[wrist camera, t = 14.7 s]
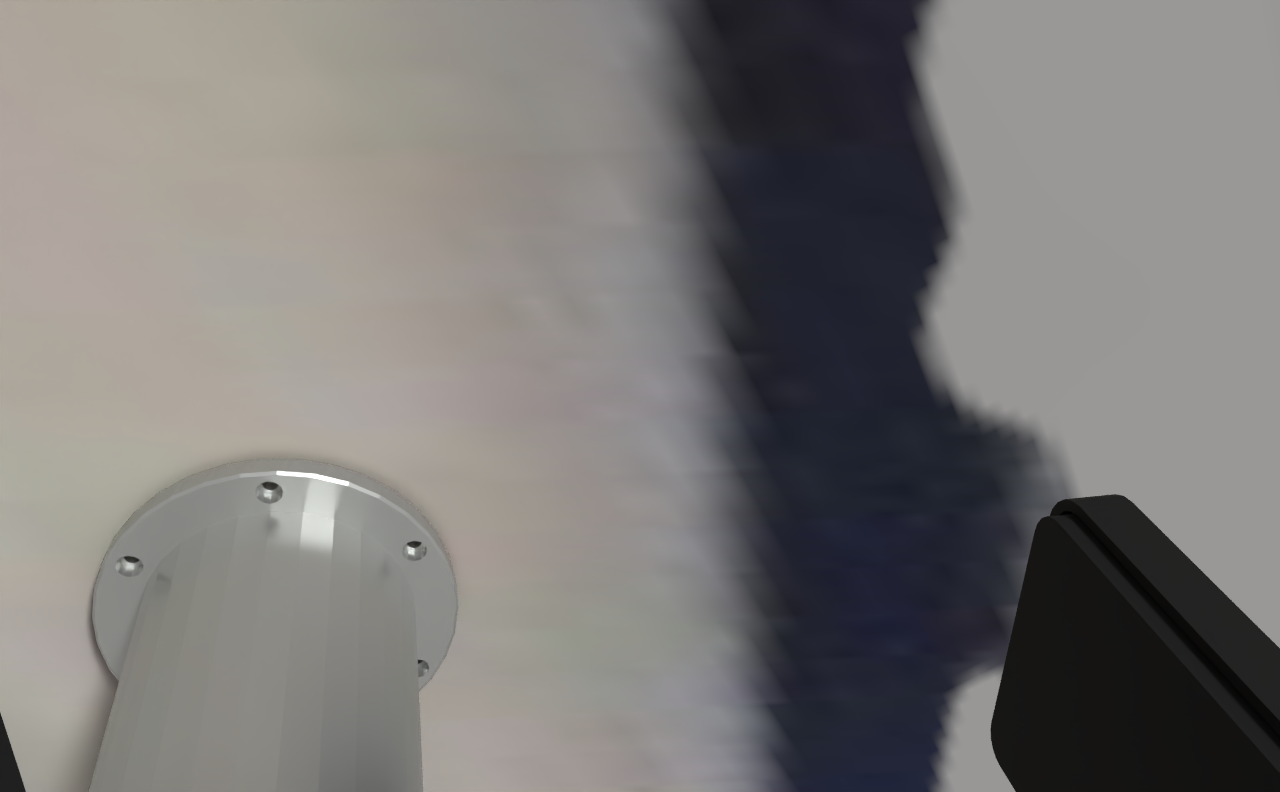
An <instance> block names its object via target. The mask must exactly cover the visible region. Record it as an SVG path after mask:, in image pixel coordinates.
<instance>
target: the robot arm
mask: <svg viewBox="0 0 1280 792" xmlns="http://www.w3.org/2000/svg"><path fill="white" fill-rule="evenodd" d="M268 482H274V483H268ZM457 611H458V601H457V588H456V579H455V575H454V571H453V567H452V563H451V559H450V556H449V554H448V552H447V550H446V548H445V546H444V544H443V542H442V540H441V538H440V536H439V534H438V532H437V531H436V530H435V529H434V528H433V526H432V525H431V524H430V523H429V522H428V520H427V519H426V518H425V517H424V516H423V514H422V513H421V512H420V511H419V510H418V509H417V508H416V507H414V506H413V505H412V504H411V503H409V502H408V501H407V500H406V499H404V498H403V497H402V496H401V495H399V494H398V493H397V492H395V491H394V490H392V489H390V488H388V487H387V486H385V485H383V484H381V483H379V482H377V481H375V480H373V479H371V478H369V477H368V476H366V475H363V474H360V473H357V472H354V471H351V470H348V469H345V468H341V467H338V466H335V465H332V464H326V463H319V462H313V461H307V460H300V459H257V460H250V461H244V462H237V463H231V464H225V465H221V466H218V467H215V468H212V469H209V470H206V471H203V472H200V473H197V474H194V475H191V476H189V477H187V478H185V479H183V480H181V481H179V482H177V483H175V484H174V485H172V486H170V487H168V488H166V489H164V490H162V491H160V492H159V493H158V494H156V495H155V496H154V497H153V498H151V499H150V500H149V501H148V502H146V503H145V504H144V505H143V506H142V507H140V508H139V509H138V510H137V511H135V512H134V513H133V514H132V516H131V517H130V518H129V519H128V521H127V522H126V523H125V524H124V526H123V527H122V528H121V529H120V530H119V532H118V533H117V534H116V535H115V537H114V539H113V541H112V543H111V545H110V547H109V549H108V551H107V553H106V555H105V557H104V560H103V562H102V565H101V568H100V572H99V575H98V578H97V582H96V585H95V588H94V595H93V609H92V620H93V625H94V631H95V636H96V641H97V645H98V647H99V649H100V651H101V653H102V655H103V658H104V660H105V662H106V664H107V666H108V668H109V670H110V671H111V672H112V674H113V675H114V676H115V677H116V679H117V680H118V681H119V684H118V687H117V691H116V694H115V698H114V702H113V705H112V709H111V713H110V716H109V720H108V723H107V727H106V731H105V734H104V738H103V741H102V745H101V749H100V752H99V756H98V759H97V763H96V767H95V770H94V774H93V778H92V781H91V785H90V788H89V792H423V776H422V753H421V729H420V705H419V691H420V690H421V689H422V688H423V687H424V686H425V685H426V684H427V683H428V682H429V681H430V680H431V679H432V677H433V676H434V674H435V673H436V671H437V670H438V668H439V667H440V665H441V663H442V662H443V660H444V659H445V657H446V655H447V652H448V650H449V647H450V644H451V642H452V639H453V636H454V633H455V628H456V619H457ZM991 741H992V746H993V750H994V753H995V756H996V759H997V761H998V763H999V765H1000V767H1001V768H1002V770H1003V771H1004V773H1005V775H1006V776H1007V778H1008V779H1009V781H1010V783H1011V785H1012V786H1013V788H1014V789H1015V791H1016V792H1280V648H1279V647H1278V646H1277V645H1276V644H1275V643H1274V642H1273V641H1272V640H1271V639H1270V638H1269V637H1267V635H1265V633H1263V632H1262V631H1261V630H1260V628H1258V627H1257V626H1256V625H1255V624H1254V623H1253V622H1252V621H1251V620H1250V619H1249V618H1248V617H1247V616H1246V615H1245V614H1244V613H1243V612H1242V611H1241V610H1240V609H1239V608H1238V607H1237V606H1236V605H1235V604H1234V603H1233V602H1232V601H1231V600H1230V599H1229V598H1228V597H1227V596H1226V595H1225V594H1224V593H1223V592H1222V591H1221V590H1220V589H1219V588H1218V587H1217V586H1216V585H1215V584H1214V583H1213V582H1212V581H1211V580H1210V579H1209V578H1208V577H1207V576H1206V575H1205V574H1204V573H1203V572H1202V571H1201V570H1200V569H1199V568H1198V567H1197V566H1196V565H1195V564H1194V563H1193V562H1192V561H1191V560H1190V559H1189V558H1188V557H1187V556H1186V555H1185V554H1184V553H1183V552H1182V551H1181V550H1180V549H1179V548H1178V547H1177V546H1176V545H1175V544H1174V543H1173V542H1172V541H1171V540H1170V539H1169V538H1168V537H1167V536H1165V534H1164V533H1163V532H1162V531H1161V530H1160V529H1159V528H1158V527H1157V526H1156V525H1155V524H1154V523H1153V522H1152V521H1151V520H1150V519H1149V518H1148V517H1147V516H1145V514H1144V513H1143V512H1142V511H1141V510H1139V509H1138V507H1136V506H1135V505H1134V504H1133V503H1132V502H1131V501H1130V500H1128V499H1127V498H1126V497H1124V496H1121V495H1104V496H1095V497H1085V498H1074V499H1065V500H1062V501H1060V502H1058V503H1057V504H1056V505H1055V506H1054V508H1053V509H1052V511H1051V514H1050V516H1047V517H1044V518H1042V519H1041V520H1040V521H1039V522H1038V524H1037V526H1036V529H1035V533H1034V537H1033V542H1032V546H1031V550H1030V555H1029V559H1028V564H1027V568H1026V572H1025V577H1024V581H1023V586H1022V590H1021V594H1020V599H1019V603H1018V608H1017V612H1016V617H1015V621H1014V625H1013V630H1012V634H1011V639H1010V643H1009V647H1008V652H1007V656H1006V661H1005V665H1004V669H1003V674H1002V678H1001V683H1000V687H999V692H998V696H997V701H996V705H995V710H994V714H993V718H992V723H991ZM0 792H26V791H25V788H24V785H23V782H22V778H21V775H20V772H19V769H18V766H17V763H16V760H15V757H14V754H13V751H12V747H11V744H10V741H9V738H8V735H7V732H6V729H5V726H4V723H3V720H2V717H1V713H0Z"/></svg>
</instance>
